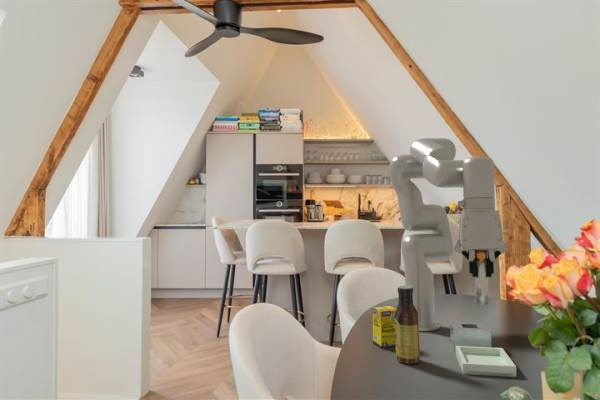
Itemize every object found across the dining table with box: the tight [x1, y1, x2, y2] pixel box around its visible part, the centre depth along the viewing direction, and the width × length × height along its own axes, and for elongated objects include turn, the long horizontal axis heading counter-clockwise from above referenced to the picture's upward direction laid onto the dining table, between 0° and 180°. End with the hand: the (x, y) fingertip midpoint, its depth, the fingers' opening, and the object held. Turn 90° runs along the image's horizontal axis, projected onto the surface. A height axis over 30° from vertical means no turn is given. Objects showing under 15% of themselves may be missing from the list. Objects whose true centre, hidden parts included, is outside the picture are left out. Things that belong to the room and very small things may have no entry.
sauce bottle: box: [395, 285, 421, 365], centre depth 116 cm, size 6×6×20 cm
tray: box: [455, 346, 517, 378], centre depth 111 cm, size 12×14×2 cm
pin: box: [474, 249, 490, 306], centre depth 112 cm, size 3×3×14 cm
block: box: [449, 321, 492, 351], centre depth 126 cm, size 10×8×6 cm
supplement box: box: [372, 305, 397, 349], centre depth 130 cm, size 6×6×11 cm
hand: (481, 275), depth 112 cm, fingers closed on pin, 3 cm apart
